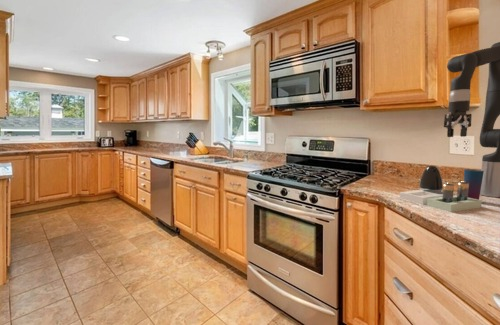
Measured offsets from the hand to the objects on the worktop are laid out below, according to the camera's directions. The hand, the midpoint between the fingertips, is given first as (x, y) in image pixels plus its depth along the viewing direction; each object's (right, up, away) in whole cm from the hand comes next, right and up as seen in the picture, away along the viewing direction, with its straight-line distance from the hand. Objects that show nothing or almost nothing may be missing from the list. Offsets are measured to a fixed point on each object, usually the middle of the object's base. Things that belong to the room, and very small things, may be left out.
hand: (456, 136), depth 121 cm
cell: (-11, -31, -9) cm, 34 cm away
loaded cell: (-3, -30, -6) cm, 31 cm away
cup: (+7, -30, 0) cm, 31 cm away
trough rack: (-7, -31, -8) cm, 33 cm away
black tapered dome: (-1, -29, +17) cm, 33 cm away
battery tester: (-11, -30, +5) cm, 32 cm away
